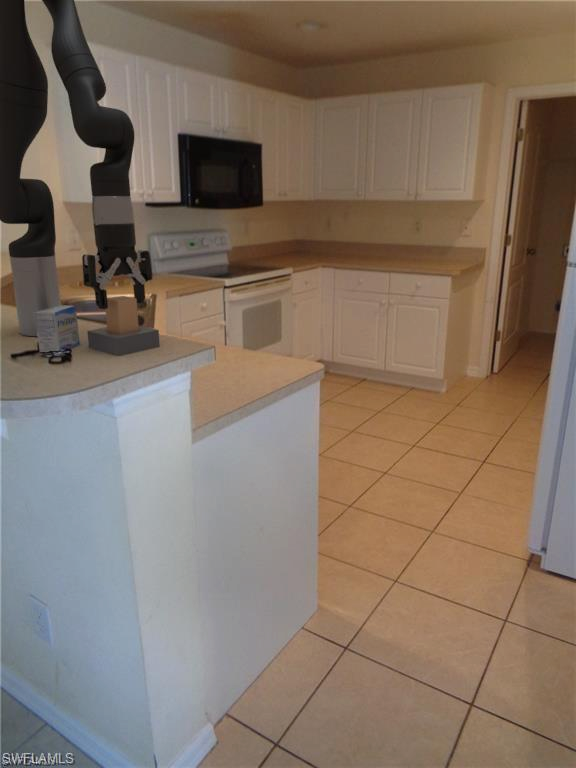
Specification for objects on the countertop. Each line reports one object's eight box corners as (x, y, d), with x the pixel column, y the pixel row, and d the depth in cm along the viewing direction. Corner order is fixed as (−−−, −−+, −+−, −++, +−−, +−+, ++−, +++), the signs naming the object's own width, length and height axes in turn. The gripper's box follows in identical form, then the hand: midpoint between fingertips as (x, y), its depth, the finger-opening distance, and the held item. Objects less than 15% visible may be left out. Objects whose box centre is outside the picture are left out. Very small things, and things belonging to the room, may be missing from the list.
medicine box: (60, 356, 110) (54, 312, 108) (39, 355, 111) (33, 311, 108) (80, 346, 118) (76, 305, 115) (61, 345, 119) (56, 304, 116)
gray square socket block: (89, 349, 115) (87, 330, 114) (130, 341, 123) (128, 323, 121) (118, 358, 109) (116, 338, 108) (159, 348, 117) (158, 329, 115)
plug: (108, 347, 115) (104, 298, 112) (126, 343, 119) (123, 295, 116) (121, 350, 113) (117, 301, 110) (139, 346, 116) (136, 298, 113)
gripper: (132, 220, 115) (139, 299, 120) (69, 222, 105) (79, 308, 110) (156, 221, 111) (162, 303, 116) (92, 222, 100) (101, 312, 105)
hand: (121, 305), depth 113 cm, fingers open, 8 cm apart
